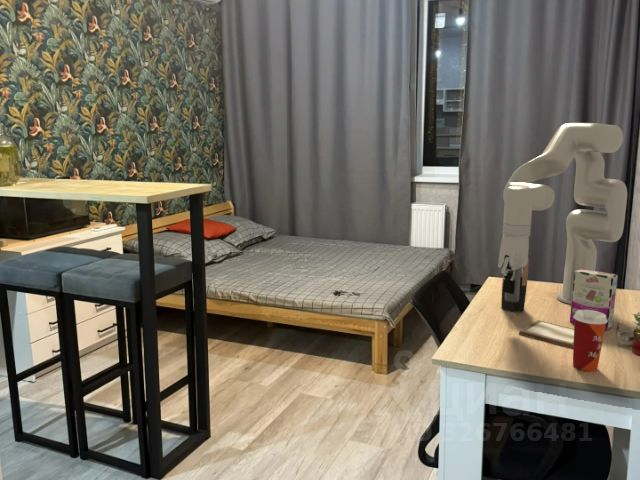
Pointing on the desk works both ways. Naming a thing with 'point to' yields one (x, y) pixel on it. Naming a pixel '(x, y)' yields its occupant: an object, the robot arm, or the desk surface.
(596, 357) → the paper cup
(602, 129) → the robot arm
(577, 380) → the desk surface
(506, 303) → the travel mug
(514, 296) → the marker
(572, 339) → the clipboard
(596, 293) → the candy bar box
